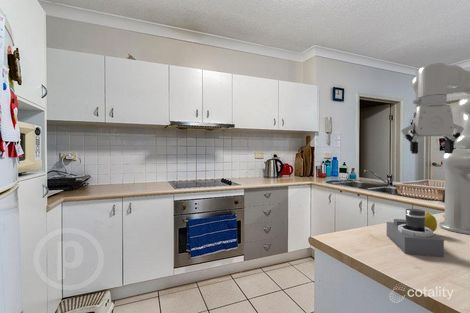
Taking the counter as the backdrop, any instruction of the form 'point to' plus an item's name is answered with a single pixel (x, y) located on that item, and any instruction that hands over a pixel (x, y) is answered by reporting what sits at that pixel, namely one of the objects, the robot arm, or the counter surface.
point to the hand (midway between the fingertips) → (431, 153)
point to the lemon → (430, 222)
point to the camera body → (415, 239)
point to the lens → (415, 220)
